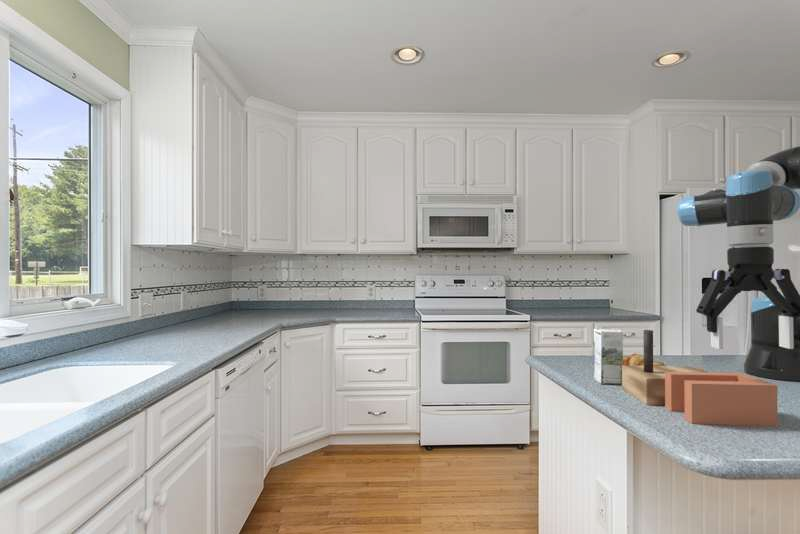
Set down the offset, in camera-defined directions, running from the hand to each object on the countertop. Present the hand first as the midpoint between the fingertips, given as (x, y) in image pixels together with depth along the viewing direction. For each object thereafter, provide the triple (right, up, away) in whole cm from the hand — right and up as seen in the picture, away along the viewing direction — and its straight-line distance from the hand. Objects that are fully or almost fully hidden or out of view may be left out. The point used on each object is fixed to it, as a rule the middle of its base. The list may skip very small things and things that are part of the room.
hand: (751, 347), depth 89 cm
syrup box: (-17, -15, +27) cm, 35 cm away
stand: (-8, -14, +13) cm, 21 cm away
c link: (-7, -14, 0) cm, 16 cm away
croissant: (-5, -15, +32) cm, 36 cm away
